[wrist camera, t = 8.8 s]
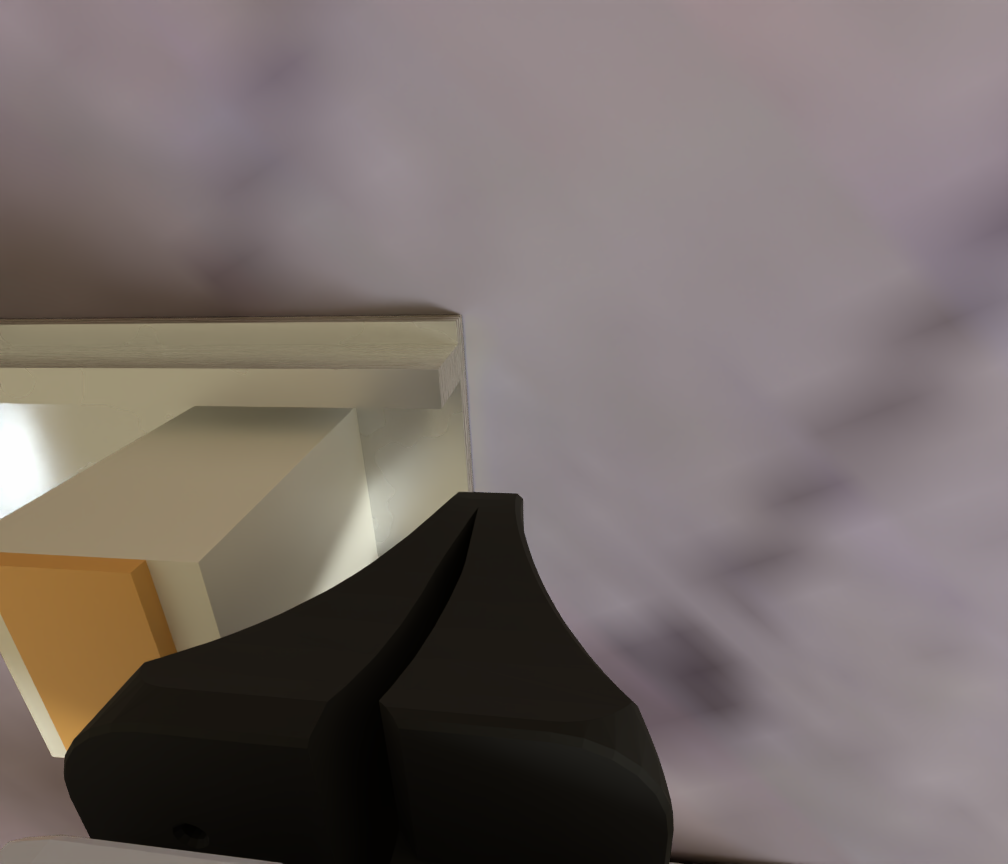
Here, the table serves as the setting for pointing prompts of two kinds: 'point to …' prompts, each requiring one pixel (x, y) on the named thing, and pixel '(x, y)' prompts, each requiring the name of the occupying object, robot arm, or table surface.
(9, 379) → the grey piece
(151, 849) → the robot arm
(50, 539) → the block
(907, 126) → the table surface
